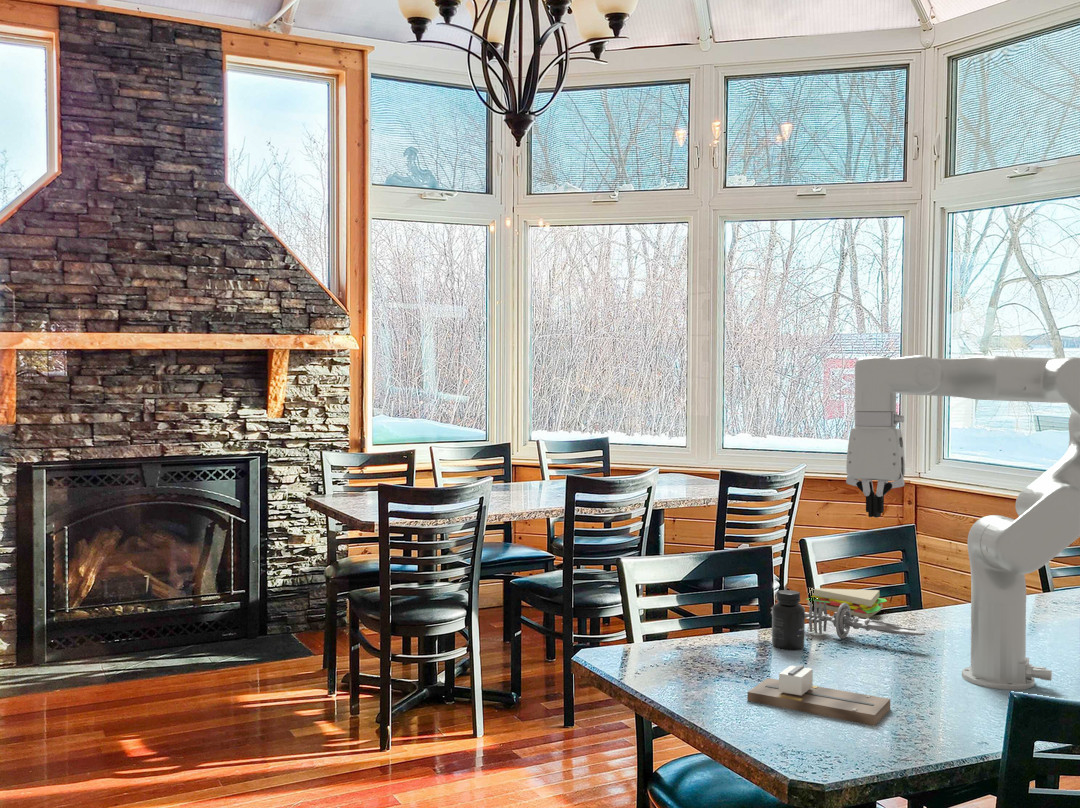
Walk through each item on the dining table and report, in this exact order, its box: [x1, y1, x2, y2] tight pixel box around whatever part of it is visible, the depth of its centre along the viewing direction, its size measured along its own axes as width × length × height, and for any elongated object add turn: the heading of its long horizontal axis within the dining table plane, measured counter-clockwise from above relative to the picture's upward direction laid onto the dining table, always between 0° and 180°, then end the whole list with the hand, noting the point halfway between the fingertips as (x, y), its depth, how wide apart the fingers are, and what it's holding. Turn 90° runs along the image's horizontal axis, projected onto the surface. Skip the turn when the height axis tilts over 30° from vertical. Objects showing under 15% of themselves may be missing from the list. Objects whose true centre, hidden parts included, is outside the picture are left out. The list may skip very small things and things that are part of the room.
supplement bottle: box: [771, 589, 806, 651], centre depth 208 cm, size 7×7×12 cm
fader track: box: [747, 677, 891, 726], centre depth 169 cm, size 22×10×2 cm, turn 56°
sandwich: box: [805, 587, 888, 619], centre depth 244 cm, size 15×20×5 cm
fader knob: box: [778, 664, 814, 696], centre depth 171 cm, size 4×6×4 cm, turn 146°
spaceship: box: [770, 600, 926, 640], centre depth 215 cm, size 8×35×8 cm, turn 51°
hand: (874, 516), depth 186 cm, fingers closed
